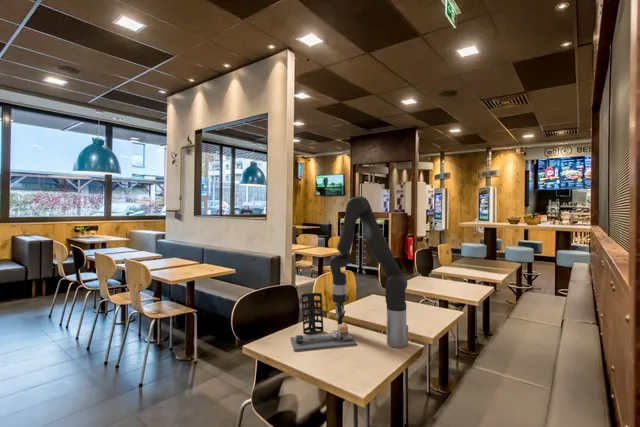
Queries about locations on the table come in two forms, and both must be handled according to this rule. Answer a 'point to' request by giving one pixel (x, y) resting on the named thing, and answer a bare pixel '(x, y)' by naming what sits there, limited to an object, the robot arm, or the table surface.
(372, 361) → the table surface
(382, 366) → the table surface
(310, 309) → the holder
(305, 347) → the tray
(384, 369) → the table surface
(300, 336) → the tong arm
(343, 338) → the base
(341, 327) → the tab
